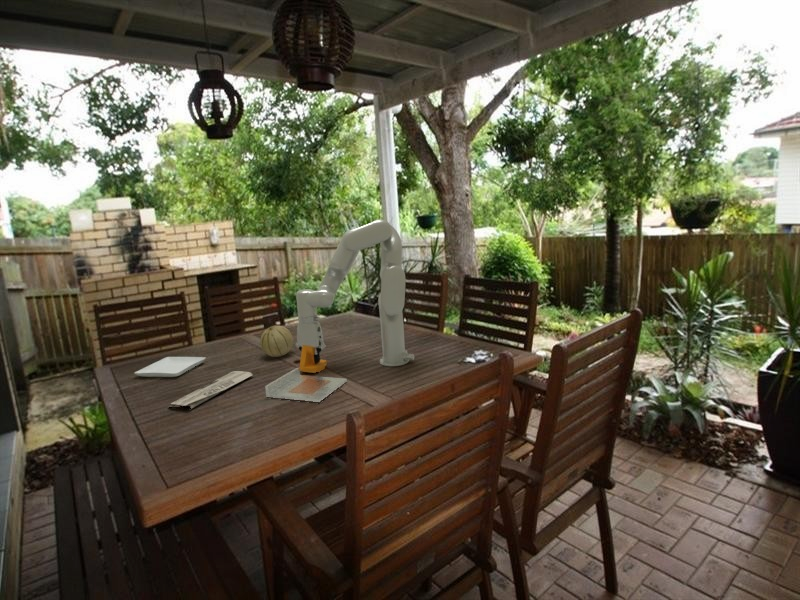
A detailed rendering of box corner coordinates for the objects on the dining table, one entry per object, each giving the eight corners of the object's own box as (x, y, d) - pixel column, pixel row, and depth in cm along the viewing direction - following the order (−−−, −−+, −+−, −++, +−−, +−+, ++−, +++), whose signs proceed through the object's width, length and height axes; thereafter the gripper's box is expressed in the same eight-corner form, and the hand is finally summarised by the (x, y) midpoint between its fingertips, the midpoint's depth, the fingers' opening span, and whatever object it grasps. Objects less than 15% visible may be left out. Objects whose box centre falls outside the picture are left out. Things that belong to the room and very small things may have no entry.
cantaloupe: (298, 351, 220) (295, 320, 217) (288, 360, 206) (284, 328, 203) (269, 352, 222) (265, 322, 219) (257, 361, 207) (252, 329, 205)
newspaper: (231, 375, 192) (230, 367, 191) (256, 377, 188) (255, 369, 187) (165, 411, 159) (163, 401, 159) (193, 413, 155) (192, 404, 155)
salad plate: (177, 380, 191) (176, 372, 190) (134, 379, 195) (132, 372, 194) (208, 363, 211) (207, 356, 210) (168, 363, 215) (166, 356, 215)
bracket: (315, 375, 184) (314, 346, 182) (299, 372, 186) (298, 344, 184) (327, 366, 194) (326, 339, 192) (312, 364, 196) (311, 337, 194)
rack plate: (347, 382, 174) (346, 371, 173) (319, 403, 155) (318, 391, 155) (298, 378, 182) (296, 367, 181) (266, 398, 164) (265, 386, 163)
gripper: (330, 318, 187) (334, 360, 190) (295, 317, 193) (300, 358, 196) (320, 322, 180) (324, 366, 183) (285, 321, 186) (289, 363, 190)
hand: (312, 361), depth 190 cm, fingers closed on bracket, 4 cm apart
